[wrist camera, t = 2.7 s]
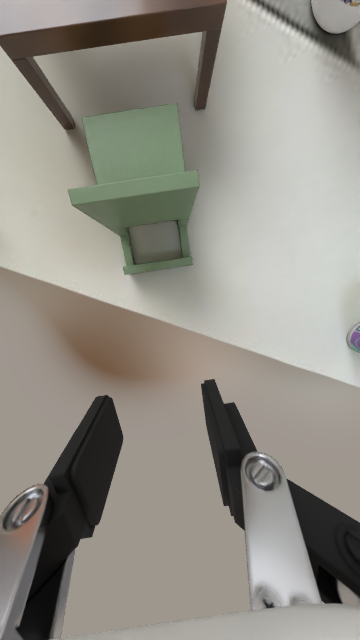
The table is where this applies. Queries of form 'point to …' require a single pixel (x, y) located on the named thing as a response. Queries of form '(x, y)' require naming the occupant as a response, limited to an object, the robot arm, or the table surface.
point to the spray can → (354, 337)
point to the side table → (103, 34)
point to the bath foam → (336, 14)
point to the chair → (138, 177)
